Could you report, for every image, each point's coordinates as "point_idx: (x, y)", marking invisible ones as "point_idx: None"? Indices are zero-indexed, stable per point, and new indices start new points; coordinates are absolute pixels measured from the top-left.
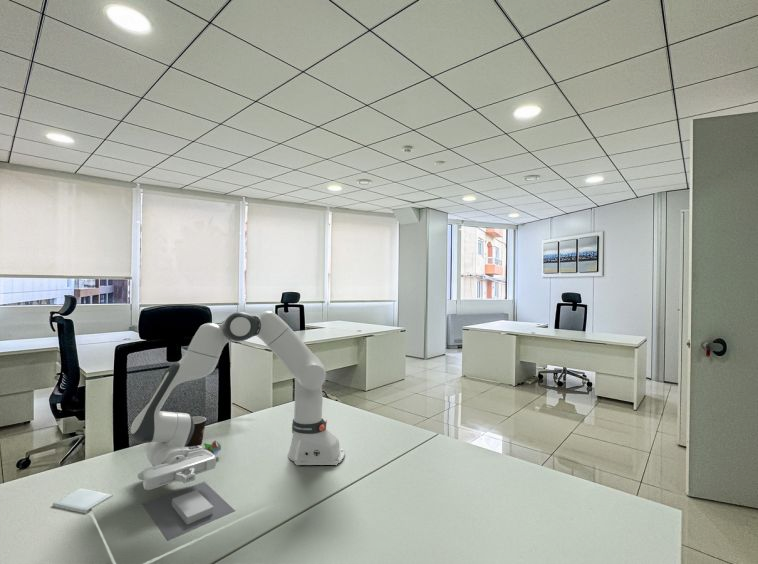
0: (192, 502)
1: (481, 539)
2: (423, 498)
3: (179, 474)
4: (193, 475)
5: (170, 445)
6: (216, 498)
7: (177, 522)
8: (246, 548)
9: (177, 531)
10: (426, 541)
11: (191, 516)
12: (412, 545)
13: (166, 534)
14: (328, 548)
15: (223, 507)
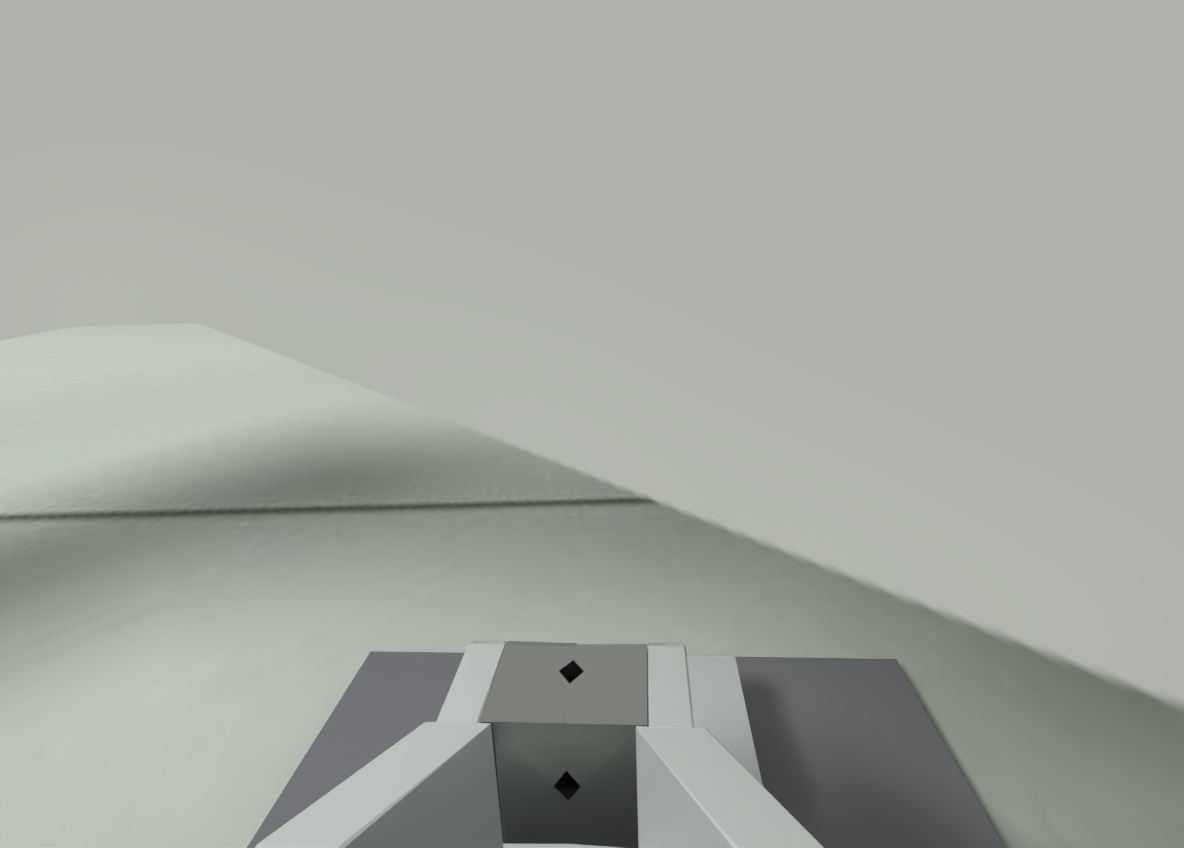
0: (598, 846)
1: (224, 363)
2: (29, 414)
3: (761, 817)
4: (505, 646)
5: None
6: None
7: (805, 806)
8: (557, 492)
9: (818, 698)
10: (268, 380)
11: (698, 660)
12: (295, 383)
13: (909, 717)
14: (398, 422)
15: (376, 734)
